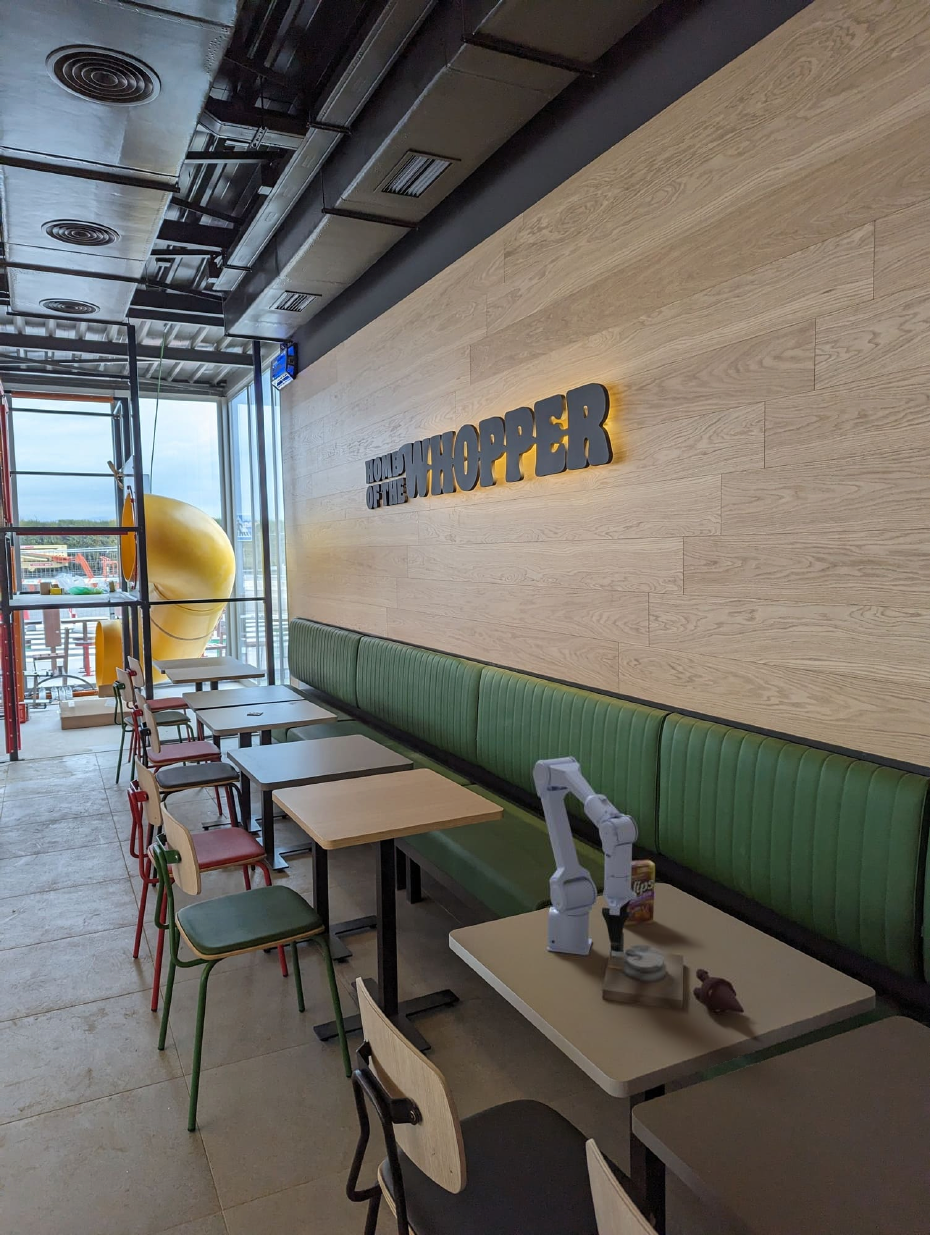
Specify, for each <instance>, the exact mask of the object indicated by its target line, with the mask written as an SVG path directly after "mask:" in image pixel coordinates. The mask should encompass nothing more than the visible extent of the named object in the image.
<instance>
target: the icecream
mask: <svg viewBox="0 0 930 1235" xmlns="http://www.w3.org/2000/svg"><path fill="white" fill-rule="evenodd" d="M695 974H696V978H697V979H698V980H699V981H700V982H701V983H702V984H701V986H700V987H695V988H694V989H693V990H692V992H693V995H694V996H695V997H696V998H697V999H699V1000H701V1002H702V1003H703V1004H704V1005H705V1006H706V1008H707V1010H708V1011H709V1012H712V1013H714V1014H716V1015H720V1014H723V1013H726V1012H734V1013H744V1012H745V1010H744V1008H743V1007H742V1005H741V1003H740V1002H739V1000H738V999H737V992H736V990H735V989H734V986H733V984H732V982H730V981H728V980H726V979H725V978H722V977H717V976H716V977H715V976H710V975H709V972H708V970H705V969H703V968H698V969H697V970H696V971H695Z"/></svg>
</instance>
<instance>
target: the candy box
mask: <svg viewBox="0 0 930 1235" xmlns="http://www.w3.org/2000/svg"><path fill="white" fill-rule="evenodd" d="M655 879H656V865H655V863H654V862H653V861H651V860H650V859H641V860H640V859H639V860H636V859H635V860H632V863H631V892H632V893H636V899H631V901H630V903H629V905H628V907H627V911H626V912H629V916H628V918H627V920H626V922H625V924H624V926H628V925H629V926H631V925H642V924H643V925H644V924H654V912H655V910H654V907H655V882H656V880H655Z"/></svg>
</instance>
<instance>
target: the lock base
mask: <svg viewBox="0 0 930 1235" xmlns="http://www.w3.org/2000/svg"><path fill="white" fill-rule="evenodd" d="M611 953H612V950H611V949H610V952H609V956H608V959H607V966H606V970H605V975H604V979H603V984H602V989H601V990H602V994H601V995H602V996H601V997H602V998H601V999H602V1000H608V1001H616V1002H623V1003H630V1004H636V1003H639V1004H638V1005H645V1006H651V1007H658V1006H659V1008H667V1009H673V1010H680V1011H682V1010H683V1001H684V999H683V994H684V993H683V992H684V955H682V954H673V953H665V952H663V954H664V967H663V969H662V970H660V971H658V972H653V973H645V972H639V971H636V970H633V969H631V968H630V967H628V966H627V964H626V958H623V957H617V956H612V955H611Z"/></svg>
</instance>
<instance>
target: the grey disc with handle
mask: <svg viewBox="0 0 930 1235" xmlns="http://www.w3.org/2000/svg"><path fill="white" fill-rule="evenodd" d="M624 935H625V933H624V931H623V932H622V938H621V941H620V943H613V942H610V950H612V953H611V955H612V956H617V957H623V958H626V964H627V966H628V967H630V968H631V969H633V970H636V971H639V972H645V973H653V972H658V971H660V970H662V969H663V967H664V954H663V953H664V952H663V951H662V950H660V949H659V948H656V947H654V946H650V945H642V944H641V945H638V944H636V945H632V946H629V947H628V948H625V947H624V945H625V942H624V941H625V940H624V939H625V936H624Z"/></svg>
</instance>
